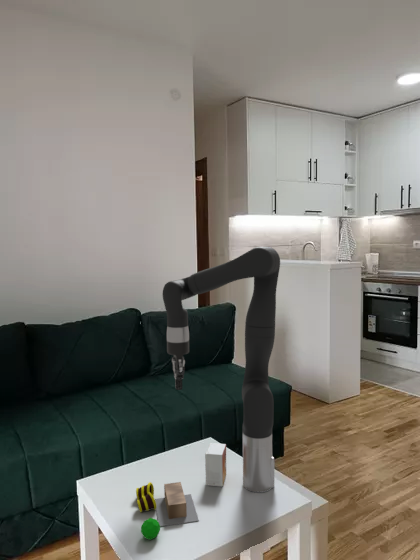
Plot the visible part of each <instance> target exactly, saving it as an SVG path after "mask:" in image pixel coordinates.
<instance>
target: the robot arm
mask: <svg viewBox="0 0 420 560" xmlns="http://www.w3.org/2000/svg"><path fill="white" fill-rule="evenodd" d="M280 268H281V259H280V255H279V253H278V252H277V250H276V249H274V248H273V247H270V246H262V245H261V246H256V247H253V248H251V249H250V250H248V251H247V252H245V253H243V254H241V255H239V256H238V257H236V258H234V259H232V260H229V261H227V262H225V263H221V264H219V265H216V266H211V267H209V268H206V269H203V270H200V271H197V272H195V273H192V274H191V275H190V276H187V277H185V278H181V279H177V280H170V281H168V282H166V283H165V284H164V286H163V289H162V300H163V304H164V305H163V306H164V309H165V311H166V320H167V322H166V323H167V324H166V326H167V327H166V352H167V354H168V355H169V356H170V355H171V356H173V357H172V358H171V363H172V371H173V377H174V381H175V383H174V384H175V385H174V386H175V390H176V391H181V390H183V379H184V378H185V371H186V367H185V364H186V360H185V357H184V355H187V354H189V353H190V331H189V313H188V310H187V309H186V308H184V307H183V301H184V300H188V299H190V298H192V297H195V296H197V295H202V294H205V293H208V292H210V291H214V290H217V289H219V288H221V287H223V286H226V285H229V284H230V283H233V282H236V281H239V280H244V279H250V278H253V289H252V290H253V292H252V296H251V300H250V302H249V306H248V308H247V312H246V316H245V321H244V322H245V324H244V325H245V326H244V327H245V328H244V353H245V368H244V376H243V382H242V387H241V399H242V402H243V406H242V407H243V408H242V409H243V422H242V485H243V488H245V489H246V490H247V491H250V492H252V493H265V492H268V491H270V490H271V489H274V488H275V457H274V456H273V428H274V427H273V426H274V420H275V419H274V414H275V413H274V411H275V409H274V407H275V406H274V405H275V404H274V402H275V401H274V395H273V393H272V391H271V388H270V385H269V384H270V383H269V365H270V360H271V356H272V352H273V348H274V345H275V344H274V343H275V338H276V336H275V335H276V311H277V310H276V309H277V287H278V281H279V273H280Z"/></svg>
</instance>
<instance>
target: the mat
mask: <svg viewBox="0 0 420 560" xmlns="http://www.w3.org/2000/svg"><path fill="white" fill-rule="evenodd" d="M184 496H185V500H186V509H187V516H186V517H179V518H173V519H169V517H168V512H167V507H166V502H165V497H161V498H160V497H159V498H154V499H155V502H156V509H155V511H156V516H157V521H158V523H159V524H160V528H161V527H169V526H177V525H184V524H189V523H195V522H199V521H200V520H199V516H198V514H197V510H196V507H195V506H196V505H195V503H194V501H193V500H194V499H193V496H192V494H190V493H189V494H184Z"/></svg>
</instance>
